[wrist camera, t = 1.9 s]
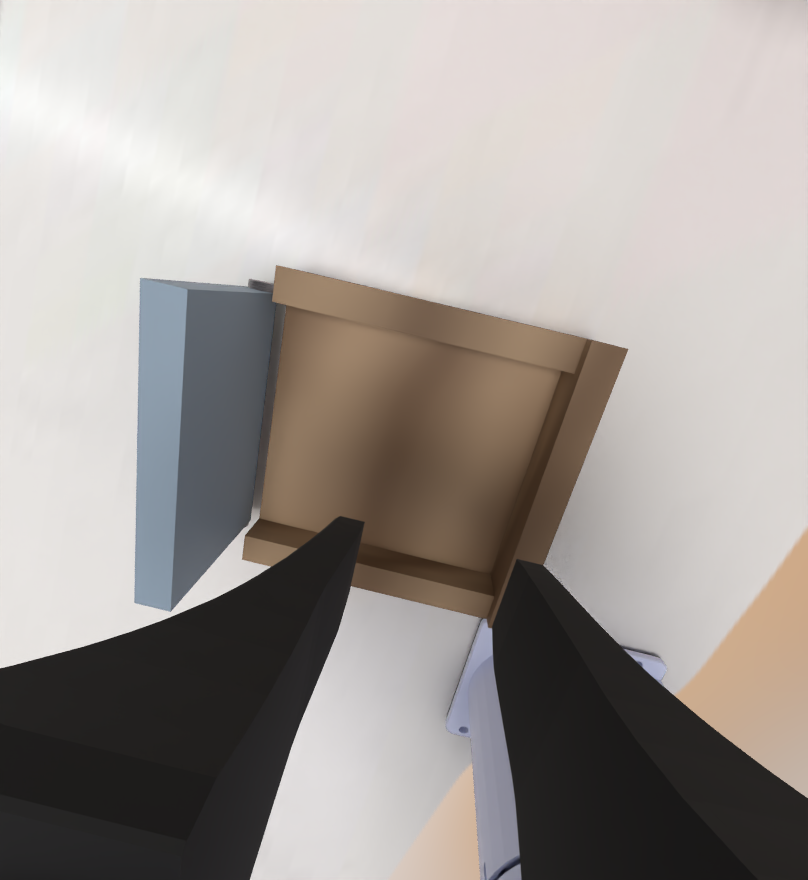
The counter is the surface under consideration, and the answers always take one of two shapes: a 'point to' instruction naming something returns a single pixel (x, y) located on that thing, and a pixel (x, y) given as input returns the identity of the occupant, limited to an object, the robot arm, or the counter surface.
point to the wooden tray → (424, 438)
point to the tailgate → (196, 426)
